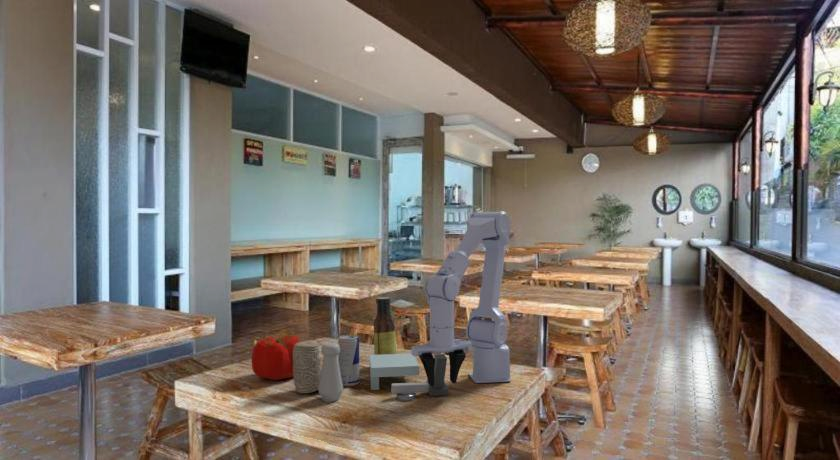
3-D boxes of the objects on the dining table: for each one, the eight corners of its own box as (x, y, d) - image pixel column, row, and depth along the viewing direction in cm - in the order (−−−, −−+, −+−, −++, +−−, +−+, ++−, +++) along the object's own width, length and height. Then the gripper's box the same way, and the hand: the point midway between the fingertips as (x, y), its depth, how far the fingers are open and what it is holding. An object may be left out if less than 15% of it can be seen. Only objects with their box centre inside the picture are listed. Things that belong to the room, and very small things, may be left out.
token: (415, 396, 121) (414, 391, 121) (415, 402, 117) (415, 397, 117) (396, 396, 121) (396, 391, 121) (396, 402, 117) (396, 397, 117)
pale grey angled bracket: (414, 373, 138) (413, 353, 138) (419, 387, 126) (419, 365, 126) (369, 375, 137) (369, 354, 136) (371, 390, 125) (370, 367, 125)
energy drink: (363, 381, 131) (363, 335, 131) (352, 387, 126) (351, 340, 126) (345, 378, 134) (345, 333, 133) (334, 384, 129) (334, 338, 128)
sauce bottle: (400, 366, 145) (400, 297, 145) (388, 371, 140) (387, 300, 139) (382, 362, 148) (382, 295, 148) (369, 368, 143) (368, 298, 143)
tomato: (298, 367, 145) (298, 330, 144) (309, 380, 133) (308, 340, 132) (248, 373, 139) (248, 335, 138) (255, 388, 127) (254, 346, 127)
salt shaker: (338, 404, 115) (337, 347, 115) (314, 402, 116) (314, 346, 116) (346, 395, 121) (346, 341, 121) (324, 394, 122) (323, 340, 122)
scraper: (442, 386, 125) (446, 352, 123) (447, 395, 121) (452, 360, 119) (389, 387, 121) (393, 352, 120) (393, 397, 117) (396, 361, 115)
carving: (305, 385, 128) (304, 338, 128) (327, 390, 125) (327, 342, 124) (286, 392, 123) (286, 343, 123) (310, 398, 119) (309, 347, 119)
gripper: (463, 320, 125) (463, 375, 125) (407, 324, 120) (407, 381, 120) (475, 326, 118) (475, 383, 118) (417, 330, 113) (417, 391, 113)
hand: (442, 383), depth 119 cm, fingers open, 5 cm apart
